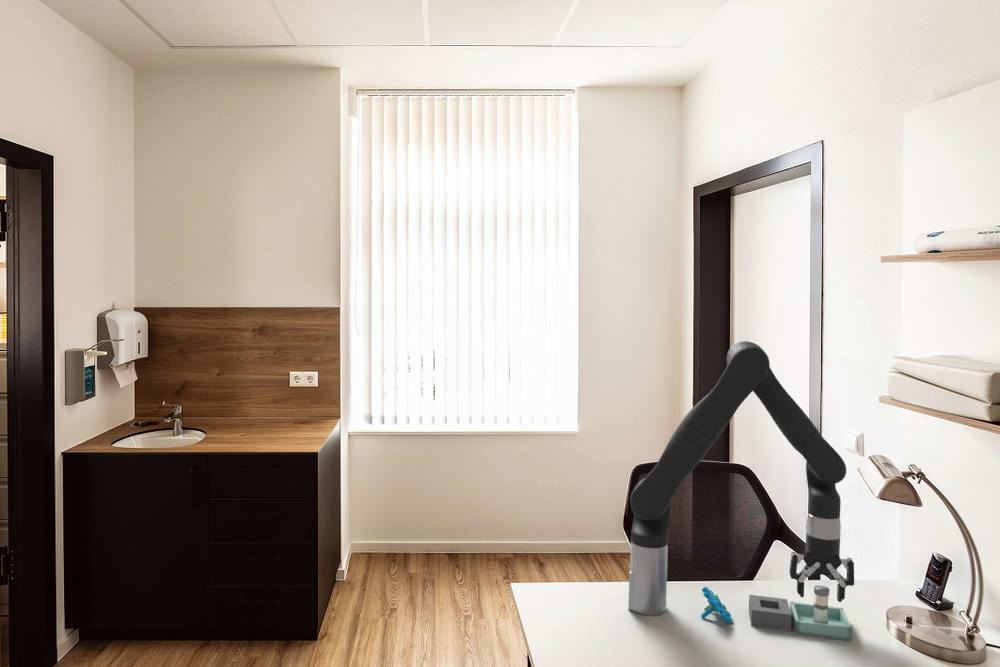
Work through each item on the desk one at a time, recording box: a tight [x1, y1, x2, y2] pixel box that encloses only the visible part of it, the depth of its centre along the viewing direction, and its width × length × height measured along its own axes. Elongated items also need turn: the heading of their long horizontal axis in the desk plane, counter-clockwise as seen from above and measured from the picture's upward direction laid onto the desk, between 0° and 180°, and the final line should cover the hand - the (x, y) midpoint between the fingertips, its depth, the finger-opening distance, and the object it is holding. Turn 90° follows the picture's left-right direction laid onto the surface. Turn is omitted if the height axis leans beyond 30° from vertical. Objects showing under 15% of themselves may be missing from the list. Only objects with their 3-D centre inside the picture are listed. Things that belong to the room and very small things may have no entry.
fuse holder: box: [748, 594, 792, 632], centre depth 177 cm, size 9×9×4 cm
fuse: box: [813, 585, 830, 624], centre depth 173 cm, size 3×3×9 cm
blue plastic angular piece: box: [700, 586, 734, 624], centre depth 177 cm, size 11×6×10 cm
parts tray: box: [789, 601, 853, 642], centre depth 174 cm, size 12×11×3 cm
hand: (820, 598), depth 173 cm, fingers open, 8 cm apart
